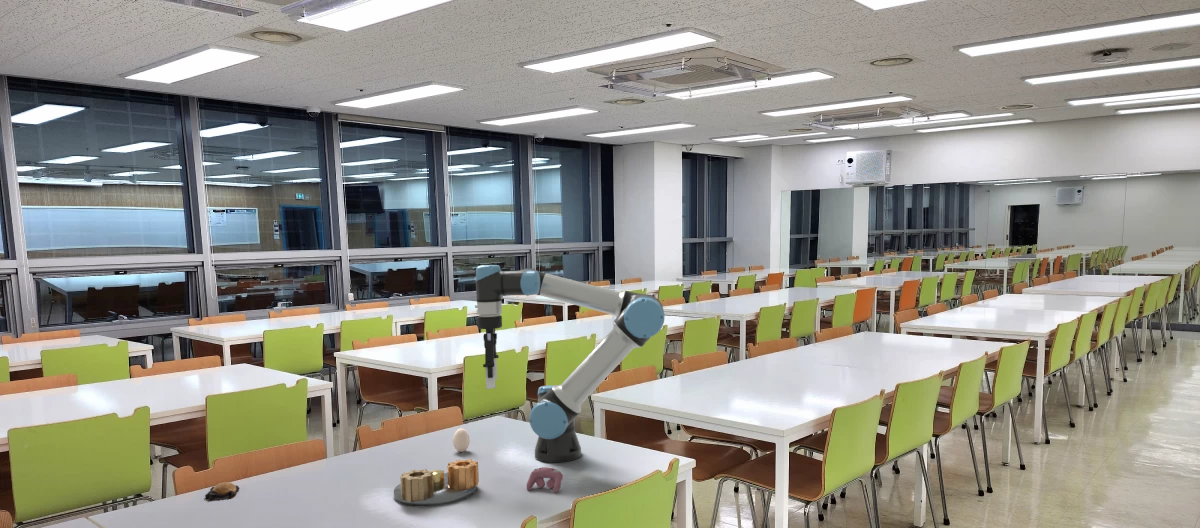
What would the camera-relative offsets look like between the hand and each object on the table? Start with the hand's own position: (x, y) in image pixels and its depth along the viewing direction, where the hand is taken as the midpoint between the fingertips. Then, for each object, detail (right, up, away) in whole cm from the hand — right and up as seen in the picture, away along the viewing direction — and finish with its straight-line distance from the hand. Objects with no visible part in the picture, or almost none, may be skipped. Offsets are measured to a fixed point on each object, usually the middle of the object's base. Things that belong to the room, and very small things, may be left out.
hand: (491, 383), depth 225 cm
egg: (-13, -27, +21) cm, 36 cm away
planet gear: (-6, -26, -17) cm, 31 cm away
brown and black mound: (-76, -30, -14) cm, 83 cm away
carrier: (-13, -28, -17) cm, 35 cm away
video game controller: (+18, -27, -18) cm, 37 cm away
